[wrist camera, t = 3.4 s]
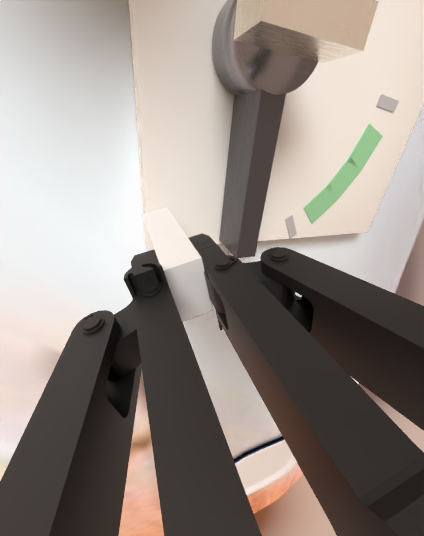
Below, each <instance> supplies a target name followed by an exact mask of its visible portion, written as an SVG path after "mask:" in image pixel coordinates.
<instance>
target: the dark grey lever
mask: <svg viewBox="0 0 424 536" xmlns="http://www.w3.org/2000/svg"><path fill="white" fill-rule="evenodd" d="M377 5H378V1H376V0H227V1H226V3H225V4H224V5H223V7H222V8H221V10H220V12H219V14H218V16H217V19H216V22H215V25H214V30H213V36H212V56H213V62H214V66H215V70H216V73H217V75H218V77H219V79H220V81H221V83H222V85H223V86H224V87H225V89H226V90H227V91H228V92H229V93H230V94H232V95H233V96H234V103H233V112H232V122H231V131H230V141H229V151H228V160H227V170H226V179H225V189H224V199H223V208H222V218H221V228H220V237H219V240H220V241H221V242H222V244H223V245H224V246H225V247H226V248H227V249H228V250H229V251H230V252H231V253H232V254H233V255H234V256H235V257H236V258H241V257H251V256H255V252H256V247H257V242H258V237H259V232H260V227H261V221H262V216H263V211H264V206H265V201H266V196H267V190H268V185H269V180H270V175H271V170H272V165H273V159H274V154H275V149H276V144H277V139H278V134H279V128H280V123H281V118H282V113H283V108H284V103H285V97H286V94H287V93H290V92H292V91H294V90H296V89H297V88H299V87H300V86H301V85H302V84H303V83H305V81H306V80H307V79H308V78H309V77H310V75H311V74H312V72H313V71H314V69H315V67H316V66H317V64H318V62H322V63H325V62H328V61H332V60H335V59H339V58H342V57H345V56H349V55H352V54H356V53H359V52H362V51H364V48H365V45H366V41H367V38H368V35H369V31H370V28H371V25H372V22H373V18H374V15H375V12H376V8H377Z"/></svg>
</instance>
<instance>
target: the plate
mask: <svg viewBox="0 0 424 536" xmlns="http://www.w3.org/2000/svg"><path fill="white" fill-rule="evenodd" d="M234 463H235V465H236V468H237V471H238V474H239V476H240V479H241V482H242V484H243V487H244V490H245V492H246V495H249V494H251V493H253V492H256V491H258V490H260V489H262V488H264V487H266V486H267V485H269V484H271V483H273V482H275V481H277V480H278V479H280V478H281V477H283V476H285V475H286V474H288V473H289V472H290V471H291V470H292V469H293V468H294V467H295V466H296V465H297V464H298V463H297V461H296V459H295V457H294V456H293V454H292V452H291V450H290V448H289V447H288V445H287V443H286V441H285V439H284V438H283V439H281V440H278V441H276V442H274V443H271V444H269V445H266V446H264V447H262V448H260V449H257V450H255V451H253V452H251V453H249V454H247V455H245V456H243V457H242V458H240V459H238V460H237V461H235V462H234Z"/></svg>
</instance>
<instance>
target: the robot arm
mask: <svg viewBox="0 0 424 536" xmlns="http://www.w3.org/2000/svg"><path fill="white" fill-rule="evenodd" d="M142 216H143V219H144V221H145V224H146V227H147V230H148V233H149V236H150V238H151V241H152V244H153V247H154V250H151V251H148V252H145V253H141V254H138V255H135V256H134V257H133V259H132V261H131V266H132V268H131V269H130V270H128V271H127V273H126V274H125V276H124V281H125V283H126V285H127V287H128V289H129V291H130V293H131V295H132V297H133V301H132V302H131V303H130V304H129V305H128V306H127V307H126V308H124V309H123V310H121V311H119V312H118V313H116V314H114V315H113V314H112V312H110V311H106V310H105V311H97V312H94V313H91V314H90V315H88V316H86V317H84V318H83V319H82V320H81V321H80V322H79V323H77V325H76V326H75V328H74V329H73V331H72V333H71V335H70V337H69V339H68V341H67V343H66V346H65V348H64V350H63V352H62V354H61V356H60V358H59V360H58V362H57V364H56V366H55V369H54V371H53V373H52V375H51V377H50V379H49V381H48V383H47V385H46V387H45V389H44V392H43V394H42V396H41V398H40V400H39V402H38V404H37V406H36V408H35V410H34V412H33V414H32V417H31V419H30V421H29V423H28V425H27V427H26V429H25V431H24V433H23V435H22V437H21V440H20V442H19V444H18V446H17V448H16V450H15V452H14V454H13V456H12V458H11V460H10V463H9V465H8V467H7V469H6V471H5V473H4V475H3V477H2V479H1V481H0V536H118V534H119V527H120V520H121V513H122V505H123V498H124V491H125V484H126V477H127V469H128V462H129V455H130V448H131V441H132V434H133V426H134V419H135V412H136V405H137V398H138V390H139V383H140V376H141V369H142V372H143V379H144V387H145V394H146V402H147V409H148V417H149V424H150V431H151V439H152V446H153V454H154V461H155V469H156V476H157V484H158V491H159V498H160V506H161V513H162V521H163V528H164V536H261V533H260V530H259V527H258V525H257V522H256V519H255V517H254V514H253V511H252V509H251V506H250V503H249V501H248V498H247V495H246V492H245V490H244V487H243V484H242V482H241V479H240V476H239V474H238V471H237V468H236V465H235V463H234V460H233V457H232V455H231V452H230V449H229V447H228V444H227V441H226V439H225V436H224V433H223V430H222V428H221V425H220V422H219V420H218V417H217V414H216V412H215V409H214V406H213V403H212V401H211V398H210V395H209V393H208V390H207V387H206V385H205V382H204V379H203V376H202V374H201V371H200V368H199V366H198V363H197V360H196V358H195V355H194V352H193V350H192V347H191V344H190V341H189V339H188V336H187V333H186V331H185V328H184V325H183V323H182V322H184V321H187V320H189V319H192V318H194V317H197V316H199V315H202V314H204V313H207V312H209V311H212V310H213V306H212V304H213V305H214V307H215V309H216V314H217V318H218V323H219V327H220V330H222V327H223V329H224V331H225V332H226V334H227V336H228V338H229V340H230V342H231V343H232V345H233V347H234V349H235V351H236V352H237V354H238V356H239V358H240V360H241V361H242V363H243V365H244V367H245V369H246V370H247V372H248V374H249V376H250V378H251V380H252V381H253V383H254V385H255V387H256V389H257V390H258V392H259V394H260V396H261V398H262V399H263V401H264V403H265V405H266V407H267V409H268V410H269V412H270V414H271V416H272V418H273V419H274V421H275V423H276V425H277V427H278V428H279V430H280V432H281V434H282V436H283V438H284V439H285V441H286V443H287V445H288V447H289V448H290V450H291V452H292V454H293V456H294V457H295V459H296V461H297V463H298V465H299V466H300V468H301V470H302V472H303V474H304V476H305V477H306V479H307V481H308V483H309V485H310V486H311V488H312V490H313V492H314V494H315V495H316V497H317V499H318V501H319V503H320V504H321V506H322V508H323V510H324V511H325V513H326V515H327V517H328V519H329V521H330V523H331V525H332V526H333V528H334V531H335V533H336V535H337V536H424V452H422V450H420V449H419V448H418V447H417V446H416V445H415V444H414V443H413V442H412V441H411V440H410V439H409V438H408V436H407V435H406V434H405V433H404V432H403V431H402V430H401V429H400V428H399V427H398V426H397V425H396V424H395V423H394V422H393V421H392V420H391V419H390V418H389V417H388V415H387V414H386V413H385V412H384V411H383V410H382V409H381V408H380V407H379V406H378V405H377V404H376V403H375V402H374V401H373V400H372V399H371V398H370V397H369V396H368V394H366V392H365V391H364V390H363V389H362V388H361V387H360V386H359V385H358V384H357V383H356V382H355V381H354V380H353V379H352V378H354V379H355V380H356V381H358V382H359V383H360V384H362V385H363V386H364V387H366V388H367V389H369V390H370V391H371V392H373V393H374V394H375V395H377V396H378V397H379V398H381V399H382V400H383V401H385V402H386V403H387V404H389V405H390V406H391V407H393V408H394V409H395V410H397V411H398V412H399V413H401V414H402V415H404V416H405V417H406V418H407V419H409V420H410V421H411V422H413V423H414V424H415V425H417V426H418V427H420V428H421V429H423V430H424V306H422V305H420V304H417V303H415V302H413V301H410V300H408V299H406V298H403V297H401V296H398V295H396V294H394V293H392V292H389V291H387V290H384V289H382V288H380V287H377V286H375V285H373V284H370V283H368V282H366V281H363V280H361V279H359V278H356V277H354V276H352V275H349V274H347V273H345V272H342V271H340V270H337V269H335V268H333V267H330V266H328V265H326V264H323V263H321V262H319V261H316V260H314V259H312V258H309V257H307V256H305V255H302V254H300V253H298V252H295V251H293V250H290V249H287V248H279V247H276V248H271V249H268V250H266V251H264V252H263V253H262V255H261V261H258V262H251V263H242V262H241V261H240V260H239V259H238V258H236V257H234V256H230V255H226V254H225V253H224V252H223V251H222V250H221V248H220V247H219V246H218V245H217V244H216V243H215V242H214V241H213V240H212V238H211V237H210V236H208V235H205V234H203V233H202V234H198V235H195V236H192V237H189V238H188V237H187V236H186V234H185V233H184V231H183V230H182V229H181V227H180V226H179V224H178V223H177V221H176V220H175V218H174V217H173V216H172V214H171V213H170V211H169V210H168V208H167V207H166V208H162V209H159V210H155V211H152V212H148V213H145V214H142ZM295 292H297V293H298V294H300V295H302V297H298V296H296V295H295ZM141 364H142V367H141ZM349 375H350V376H351V377H352V378H351V377H350V376H349Z"/></svg>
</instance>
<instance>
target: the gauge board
mask: <svg viewBox="0 0 424 536" xmlns="http://www.w3.org/2000/svg"><path fill="white" fill-rule="evenodd" d="M226 1H227V0H129V15H130V29H131V44H132V59H133V73H134V88H135V103H136V118H137V132H138V147H139V162H140V176H141V191H142V206H143V214H145V213H148V212H152V211H155V210H159V209H162V208H166V207H167V208H168V210H169V211H170V213H171V214H172V216H173V217H174V218H175V220H176V221H177V223H178V224H179V226H180V227H181V229H182V230H183V231H184V233H185V234H186V236H187V237H188V238H189V237H192V236H195V235H198V234H202V233H203V234H205V235H208V236H210V237H211V238H212V240H213V241H214V242H215V243H216V244H221V250H222V251H223V252H224V253H225V254H226V255H228V254H229V250H228V249H227V248H226V247H225V246H224V245H223V244H222V242H221V241H220V240H219V237H220V228H221V218H222V208H223V199H224V189H225V179H226V170H227V160H228V151H229V141H230V131H231V122H232V112H233V103H234V96H233V95H232V94H230V93H229V92H228V91H227V90H226V89H225V87H224V86H223V85H222V83H221V81H220V79H219V77H218V75H217V73H216V70H215V66H214V62H213V56H212V36H213V30H214V25H215V22H216V19H217V16H218V14H219V12H220V10H221V8H222V7H223V5H224V4H225V3H226ZM376 1H378V5H377V8H376V12H375V15H374V18H373V22H372V25H371V28H370V31H369V35H368V38H367V41H366V45H365V48H364V51H362V52H359V53H356V54H352V55H349V56H345V57H342V58H339V59H335V60H332V61H328V62H325V63H322V62H318V64H317V66H316V67H315V69H314V71H313V72H312V74H311V75H310V77H309V78H308V79H307V80H306V81H305V83H303V84H302V85H301V86H300V87H299V88H297V89H296V90H294V91H292V92H290V93H287V94H286V97H285V103H284V108H283V113H282V118H281V123H280V128H279V134H278V139H277V144H276V149H275V154H274V159H273V165H272V170H271V175H270V180H269V185H268V190H267V196H266V201H265V206H264V211H263V216H262V221H261V227H260V232H259V237H258V241H266V240H279V239H291V238H304V237H316V236H328V235H341V234H353V233H366V232H368V230H369V228H370V225H371V223H372V221H373V219H374V216H375V214H376V212H377V210H378V207H379V205H380V203H381V200H382V198H383V196H384V194H385V191H386V189H387V187H388V184H389V182H390V180H391V178H392V175H393V173H394V171H395V169H396V166H397V164H398V162H399V159H400V157H401V155H402V153H403V150H404V148H405V146H406V144H407V141H408V139H409V137H410V134H411V132H412V130H413V128H414V125H415V123H416V121H417V118H418V116H419V114H420V112H421V109H422V107H423V105H424V0H376ZM143 221H144V219H143ZM144 235H145V243H146V247H147V250H154V247H153V244H152V241H151V238H150V236H149V233H148V230H147V227H146V224H145V221H144Z"/></svg>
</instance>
